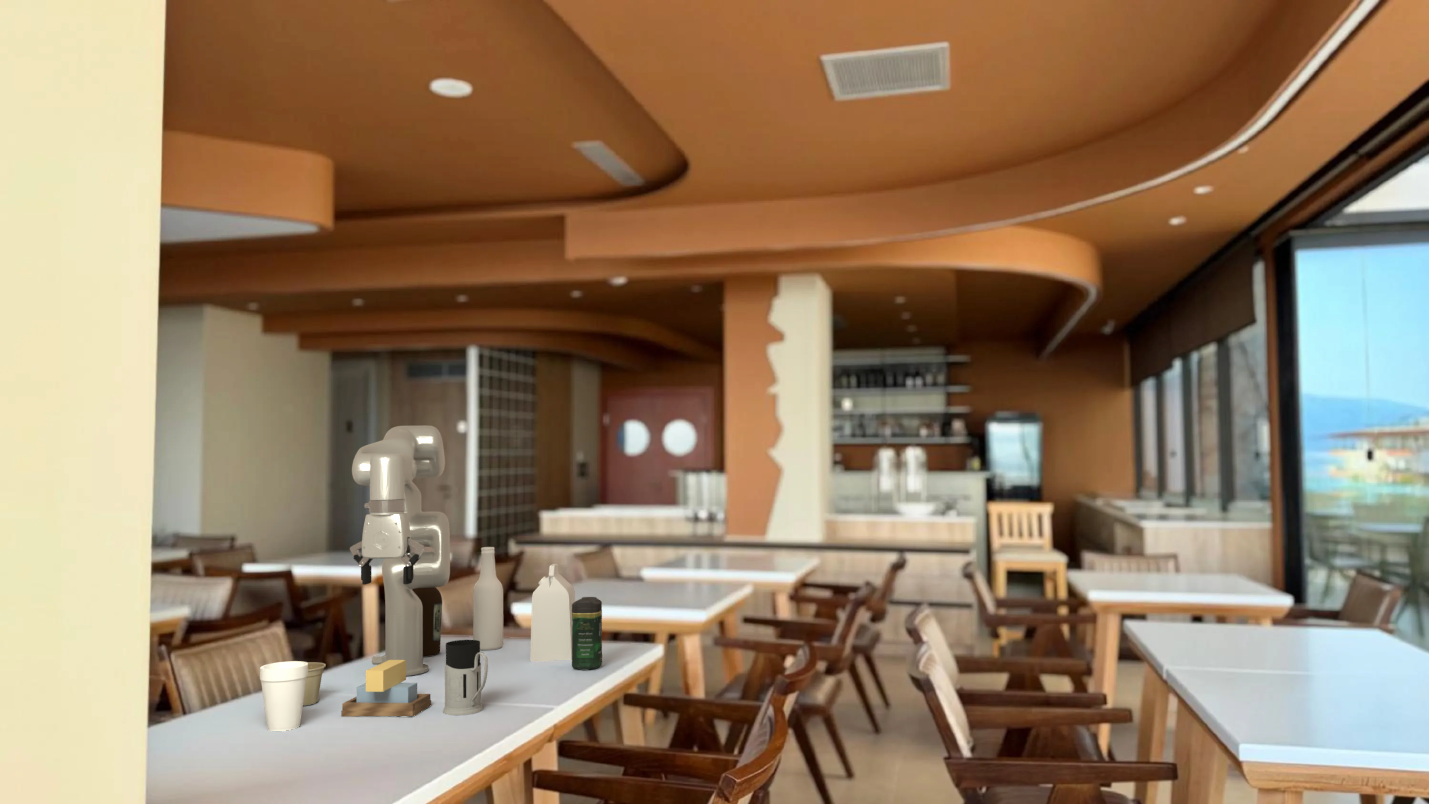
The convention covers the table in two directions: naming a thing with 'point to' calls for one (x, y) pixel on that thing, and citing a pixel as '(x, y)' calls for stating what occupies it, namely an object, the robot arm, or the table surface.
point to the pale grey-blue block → (389, 694)
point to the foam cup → (283, 693)
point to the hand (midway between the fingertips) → (387, 583)
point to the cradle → (386, 707)
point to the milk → (552, 618)
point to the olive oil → (430, 619)
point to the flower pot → (313, 682)
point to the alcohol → (488, 604)
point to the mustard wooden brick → (385, 675)
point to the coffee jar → (587, 633)
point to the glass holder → (463, 677)
